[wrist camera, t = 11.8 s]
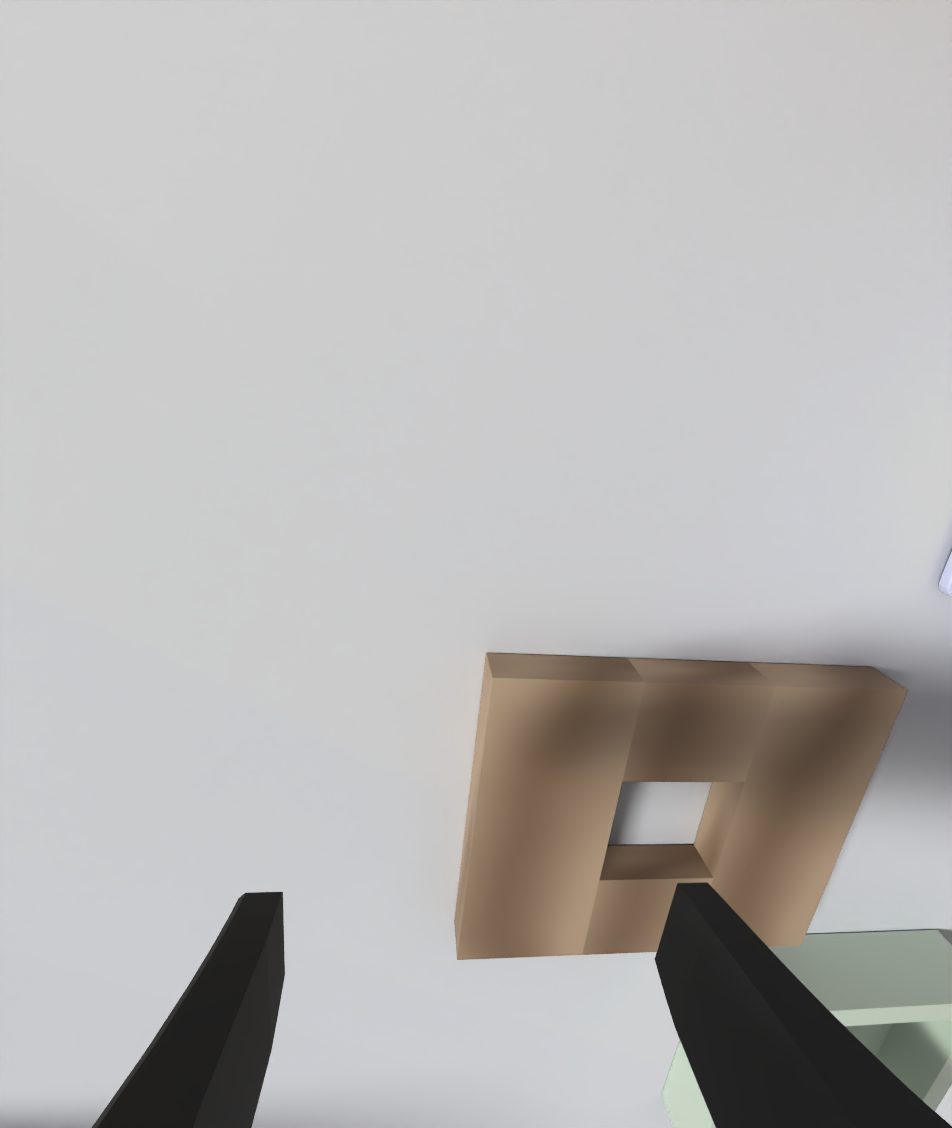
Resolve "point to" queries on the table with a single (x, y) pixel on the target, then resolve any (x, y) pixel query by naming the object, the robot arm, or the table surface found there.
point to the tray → (863, 1009)
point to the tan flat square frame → (658, 754)
